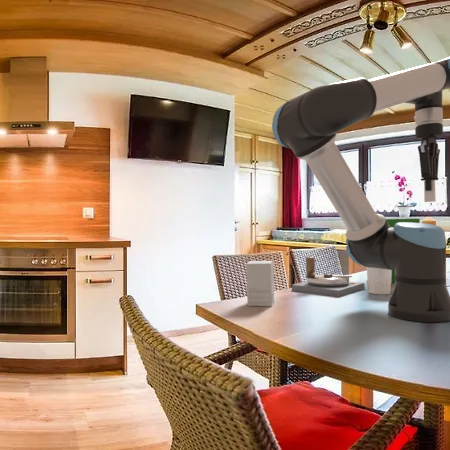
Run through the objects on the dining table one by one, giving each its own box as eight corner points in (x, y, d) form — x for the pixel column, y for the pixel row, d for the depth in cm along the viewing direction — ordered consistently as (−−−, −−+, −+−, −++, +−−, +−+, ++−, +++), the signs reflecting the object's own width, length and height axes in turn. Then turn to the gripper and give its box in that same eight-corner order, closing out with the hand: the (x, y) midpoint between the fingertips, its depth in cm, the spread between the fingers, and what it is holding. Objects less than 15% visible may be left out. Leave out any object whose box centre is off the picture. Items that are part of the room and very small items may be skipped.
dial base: (339, 296, 124) (338, 289, 124) (292, 290, 136) (291, 283, 136) (364, 288, 136) (364, 282, 136) (319, 283, 149) (319, 277, 149)
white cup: (388, 290, 132) (387, 261, 132) (395, 295, 124) (395, 263, 124) (364, 290, 133) (363, 261, 133) (370, 295, 125) (369, 264, 125)
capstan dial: (347, 279, 143) (346, 255, 142) (356, 286, 129) (356, 259, 128) (304, 280, 144) (303, 255, 144) (308, 286, 130) (308, 259, 130)
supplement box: (274, 301, 119) (274, 260, 119) (271, 307, 112) (270, 263, 112) (251, 300, 121) (250, 260, 121) (246, 306, 114) (245, 263, 114)
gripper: (423, 130, 127) (424, 202, 127) (408, 123, 117) (409, 202, 118) (448, 125, 121) (449, 201, 122) (435, 118, 112) (436, 200, 112)
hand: (430, 201), depth 120 cm, fingers closed
